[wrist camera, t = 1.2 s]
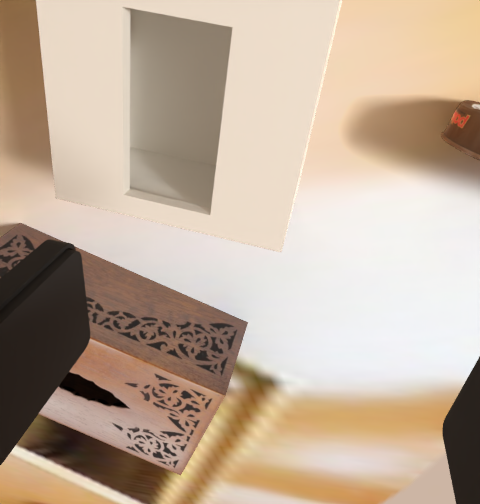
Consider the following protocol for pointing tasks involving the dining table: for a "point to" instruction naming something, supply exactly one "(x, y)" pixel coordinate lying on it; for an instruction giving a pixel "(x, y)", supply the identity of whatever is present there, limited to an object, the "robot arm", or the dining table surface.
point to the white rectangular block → (185, 108)
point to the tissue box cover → (140, 360)
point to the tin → (465, 129)
